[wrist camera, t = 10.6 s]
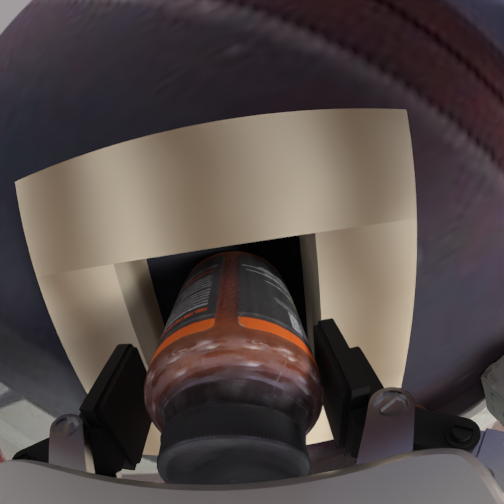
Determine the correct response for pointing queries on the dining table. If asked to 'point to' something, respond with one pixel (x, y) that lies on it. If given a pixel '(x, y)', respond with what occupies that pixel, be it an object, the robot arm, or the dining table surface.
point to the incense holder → (495, 389)
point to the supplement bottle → (233, 378)
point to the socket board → (232, 228)
